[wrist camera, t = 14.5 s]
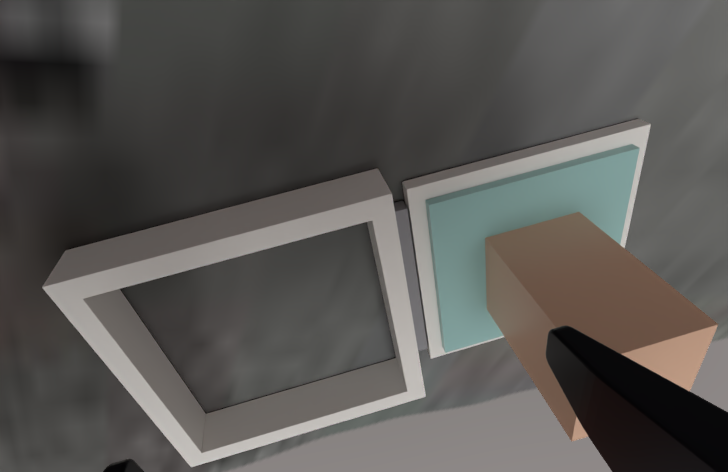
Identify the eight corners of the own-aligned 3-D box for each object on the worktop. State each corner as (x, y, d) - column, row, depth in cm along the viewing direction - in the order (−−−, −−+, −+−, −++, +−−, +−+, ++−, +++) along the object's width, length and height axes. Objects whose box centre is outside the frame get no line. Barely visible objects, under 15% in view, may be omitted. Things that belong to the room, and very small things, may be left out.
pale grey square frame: (201, 434, 27) (196, 474, 25) (65, 250, 19) (41, 287, 17) (414, 371, 28) (427, 404, 26) (377, 168, 20) (391, 193, 17)
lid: (412, 352, 27) (419, 369, 26) (383, 186, 20) (390, 199, 19) (604, 296, 28) (618, 310, 27) (638, 118, 21) (659, 127, 20)
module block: (486, 312, 24) (571, 445, 18) (485, 238, 21) (585, 364, 15) (569, 288, 25) (681, 410, 18) (579, 211, 22) (718, 324, 15)
